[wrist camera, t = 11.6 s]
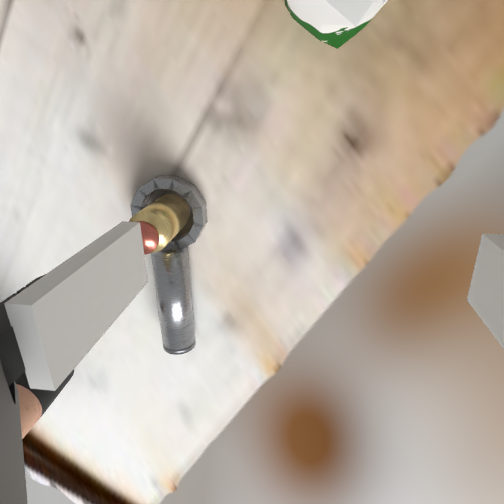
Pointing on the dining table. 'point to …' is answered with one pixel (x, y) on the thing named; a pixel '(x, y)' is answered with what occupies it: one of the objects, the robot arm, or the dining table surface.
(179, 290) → the grey ring-headed tool
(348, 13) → the milk carton
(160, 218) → the yellow jar pink lid
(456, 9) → the dining table surface
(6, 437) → the robot arm
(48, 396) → the travel mug
